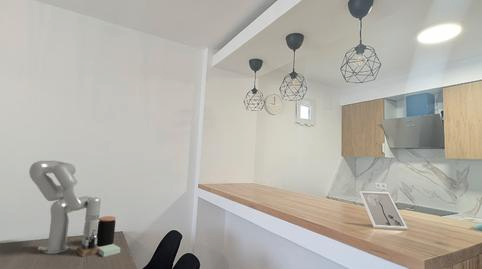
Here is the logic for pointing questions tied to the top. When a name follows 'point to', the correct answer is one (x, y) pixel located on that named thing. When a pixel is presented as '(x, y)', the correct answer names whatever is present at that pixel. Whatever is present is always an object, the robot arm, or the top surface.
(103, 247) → the stand
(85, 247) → the housing
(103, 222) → the coffee jar
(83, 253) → the stand
